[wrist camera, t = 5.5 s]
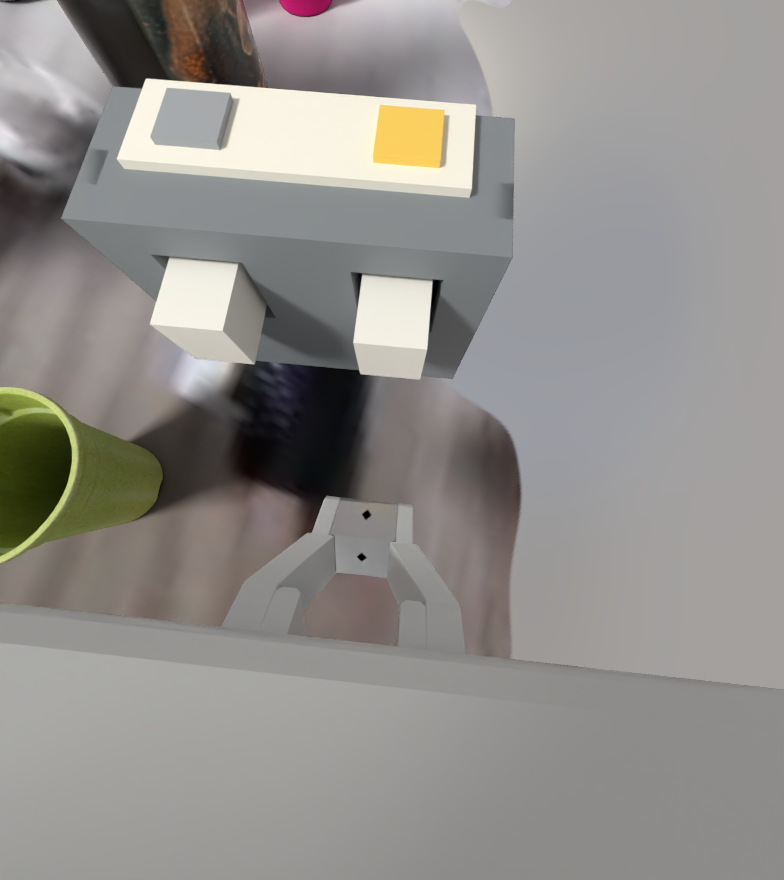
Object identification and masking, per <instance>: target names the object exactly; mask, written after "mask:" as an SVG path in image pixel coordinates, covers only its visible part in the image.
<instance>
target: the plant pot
mask: <svg viewBox="0 0 784 880" xmlns="http://www.w3.org/2000/svg"><path fill="white" fill-rule="evenodd" d="M162 479H163V473H162V468H161V465H160V463H159V461H158V460H157V458H156V457H155V456H154V455H153V454H152V453H151V452H150V451H148V450H147V449H145V448H142V447H140V446H137V445H135V444H132V443H130V442H127V441H125V440H123V439H120V438H118V437H115V436H113V435H110V434H108V433H106V432H103V431H101V430H98V429H96V428H94V427H91V426H89V425H87V424H84V423H82V422H80V421H79V420H78V419H76V418H75V417H73V416H72V415H70V414H68V413H67V412H66V410H65V409H64V408H63V407H61V406H60V405H59V404H58V403H56V402H55V401H53V400H52V399H50V398H48V397H46V396H44V395H42V394H39V393H36V392H33V391H30V390H26V389H21V388H12V387H0V564H2V563H5V562H7V561H10V560H12V559H14V558H16V557H18V556H19V555H21V554H23V553H24V552H26V551H27V550H29V549H32V548H35V547H37V546H39V545H41V544H43V543H45V542H49V541H53V540H57V539H61V538H65V537H69V536H73V535H78V534H82V533H86V532H90V531H94V530H99V529H103V528H108V527H112V526H116V525H120V524H124V523H128V522H130V521H133V520H135V519H137V518H139V517H140V516H142V515H143V514H145V513H146V512H147V511H148V510H149V509H150V508H151V507H152V506H153V504H154V503H155V502H156V500H157V498H158V492H159V488H160V484H161V482H162Z"/></svg>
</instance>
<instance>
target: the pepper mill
mask: <svg viewBox="0 0 784 880" xmlns="http://www.w3.org/2000/svg"><path fill="white" fill-rule="evenodd" d="M279 1H280V4H281V5H282V7H283V8H284V9H285V10H286V11H288V12H289V13H291V14H294V15H298V16H312V15H316V14H319V13H321V12H323V11H324V10H326V9H327V8H328V7H329V5H330V4H331V1H332V0H279Z"/></svg>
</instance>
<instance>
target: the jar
mask: <svg viewBox="0 0 784 880" xmlns="http://www.w3.org/2000/svg"><path fill="white" fill-rule="evenodd" d="M57 1H58V3H59V5H60V6H61V8H62V9H63V11H64V13H65V14H66V16H67V17H68V19H69V20H70V22H71V23H72V25H73V27H74V28H75V30H76V31H77V33H78V34H79V36H80V37H81V39H82V40H83V42H84V44H85V45H86V47H87V48H88V50H89V51H90V53H91V54H92V56H93V57H94V59H95V60H96V62H97V64H98V65H99V67H100V68H101V70H102V71H103V73H104V74H105V76H106V77H107V79H108V80H109V82H110V83H111V85H112V86H115V87H127V88H140V89H142V88H143V85H144V82H145V80H146V78H147V79H159V80H172V81H184V82H197V83H209V84H222V85H234V86H247V87H259V88H268V85H267V81H266V78H265V74H264V71H263V68H262V64H261V61H260V57H259V54H258V51H257V47H256V44H255V41H254V37H253V34H252V30H251V27H250V24H249V20H248V17H247V14H246V10H245V7H244V4H243V1H242V0H57Z"/></svg>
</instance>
